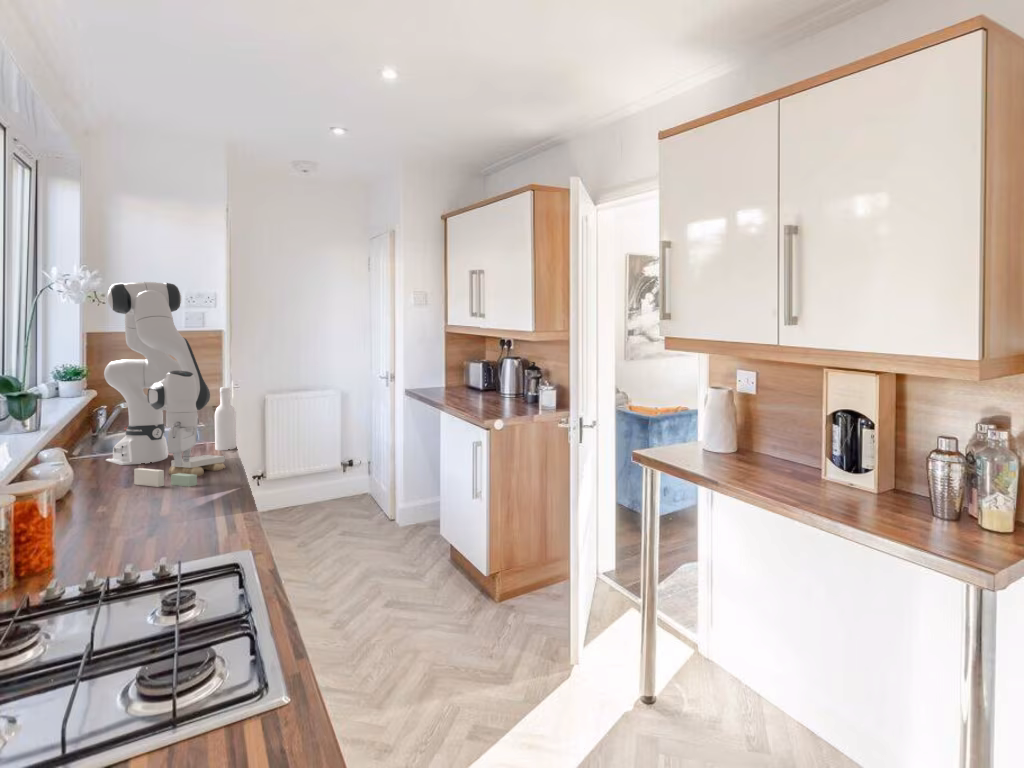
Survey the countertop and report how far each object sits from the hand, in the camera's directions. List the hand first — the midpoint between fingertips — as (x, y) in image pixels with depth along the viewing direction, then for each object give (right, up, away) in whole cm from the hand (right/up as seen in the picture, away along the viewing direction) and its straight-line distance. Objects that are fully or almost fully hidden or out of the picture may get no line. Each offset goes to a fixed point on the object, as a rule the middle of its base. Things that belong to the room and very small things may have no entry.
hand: (182, 463), depth 188 cm
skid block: (0, -7, +1) cm, 7 cm away
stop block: (-11, -7, 0) cm, 13 cm away
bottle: (-11, -6, +51) cm, 53 cm away
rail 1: (-6, -7, +13) cm, 16 cm away
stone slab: (-4, -2, +17) cm, 18 cm away
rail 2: (-3, -6, +21) cm, 22 cm away
